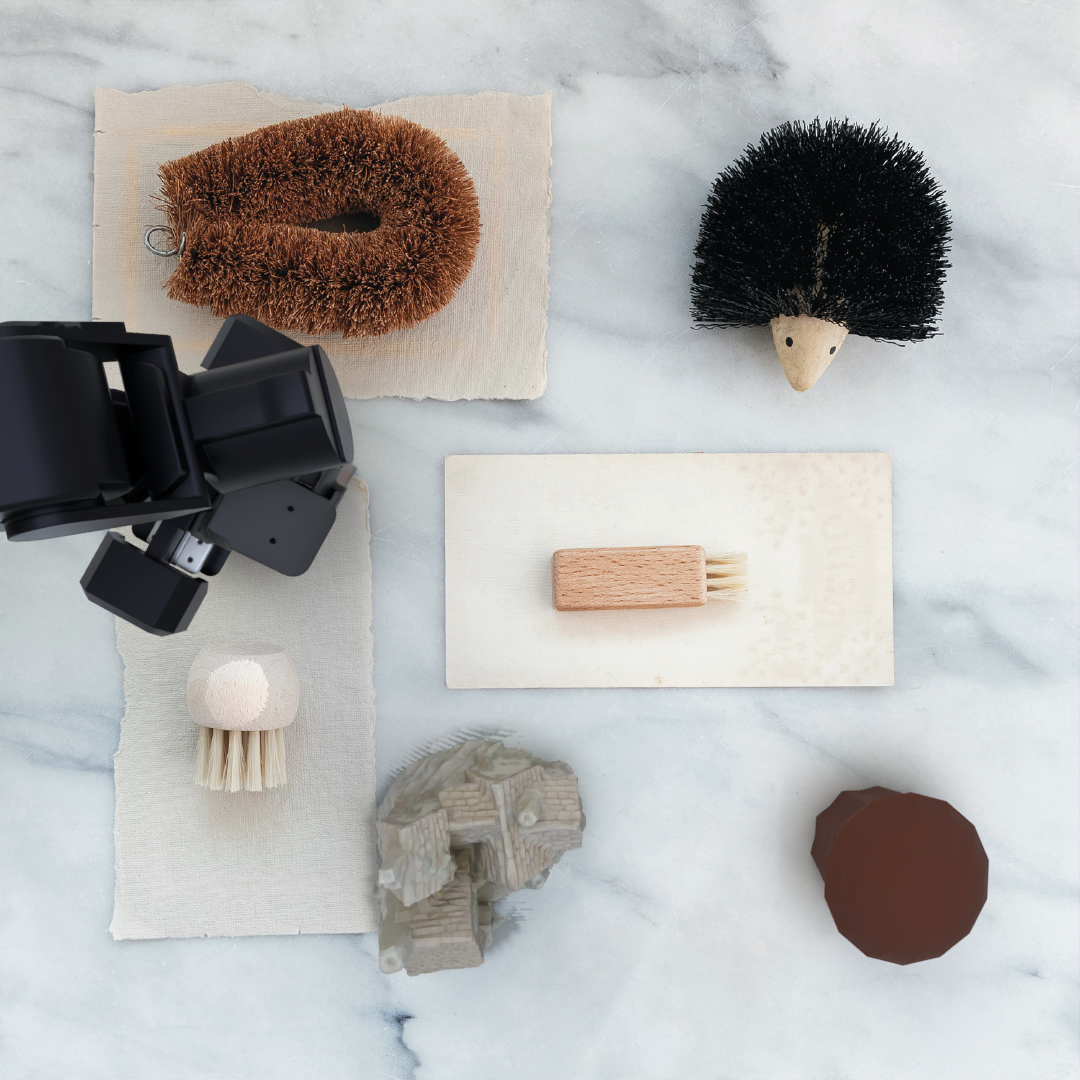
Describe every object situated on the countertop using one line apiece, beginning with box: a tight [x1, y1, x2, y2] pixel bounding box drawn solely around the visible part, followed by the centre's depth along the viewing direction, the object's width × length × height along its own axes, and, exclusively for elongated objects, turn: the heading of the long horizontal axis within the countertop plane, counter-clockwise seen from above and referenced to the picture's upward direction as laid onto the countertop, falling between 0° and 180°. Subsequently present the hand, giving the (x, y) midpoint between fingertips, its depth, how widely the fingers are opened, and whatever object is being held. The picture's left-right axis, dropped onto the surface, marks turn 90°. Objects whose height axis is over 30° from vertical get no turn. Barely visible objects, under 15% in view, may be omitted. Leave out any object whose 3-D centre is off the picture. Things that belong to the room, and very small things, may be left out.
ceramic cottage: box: [374, 738, 587, 977], centre depth 57 cm, size 16×16×15 cm
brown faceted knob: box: [810, 785, 990, 967], centre depth 59 cm, size 12×11×10 cm
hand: (253, 486), depth 58 cm, fingers closed on boat, 4 cm apart
